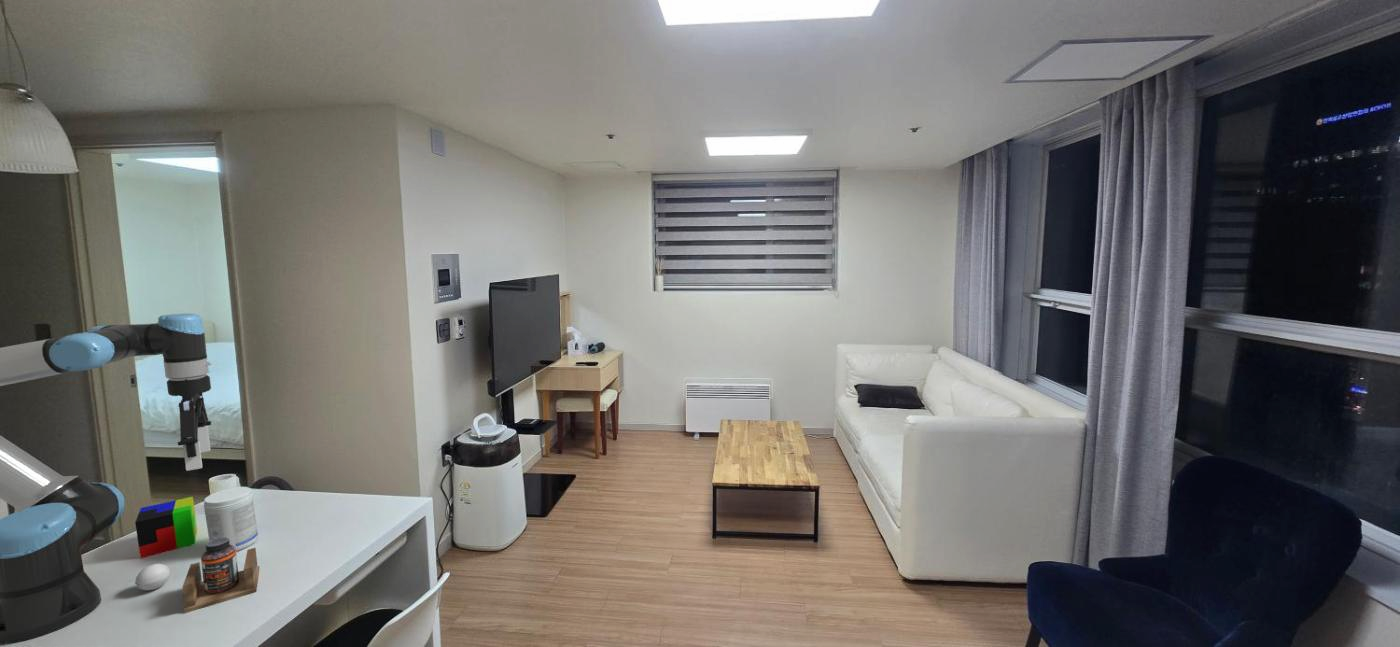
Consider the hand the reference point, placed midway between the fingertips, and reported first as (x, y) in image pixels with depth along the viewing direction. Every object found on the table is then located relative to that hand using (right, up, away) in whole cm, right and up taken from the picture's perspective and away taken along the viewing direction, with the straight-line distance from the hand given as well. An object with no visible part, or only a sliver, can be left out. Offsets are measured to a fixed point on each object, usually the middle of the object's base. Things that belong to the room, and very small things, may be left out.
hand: (199, 460), depth 128 cm
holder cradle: (+14, -28, -8) cm, 32 cm away
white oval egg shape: (-4, -28, -8) cm, 30 cm away
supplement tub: (0, -26, +10) cm, 28 cm away
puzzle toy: (-18, -26, +11) cm, 33 cm away
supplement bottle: (+14, -28, -9) cm, 32 cm away
